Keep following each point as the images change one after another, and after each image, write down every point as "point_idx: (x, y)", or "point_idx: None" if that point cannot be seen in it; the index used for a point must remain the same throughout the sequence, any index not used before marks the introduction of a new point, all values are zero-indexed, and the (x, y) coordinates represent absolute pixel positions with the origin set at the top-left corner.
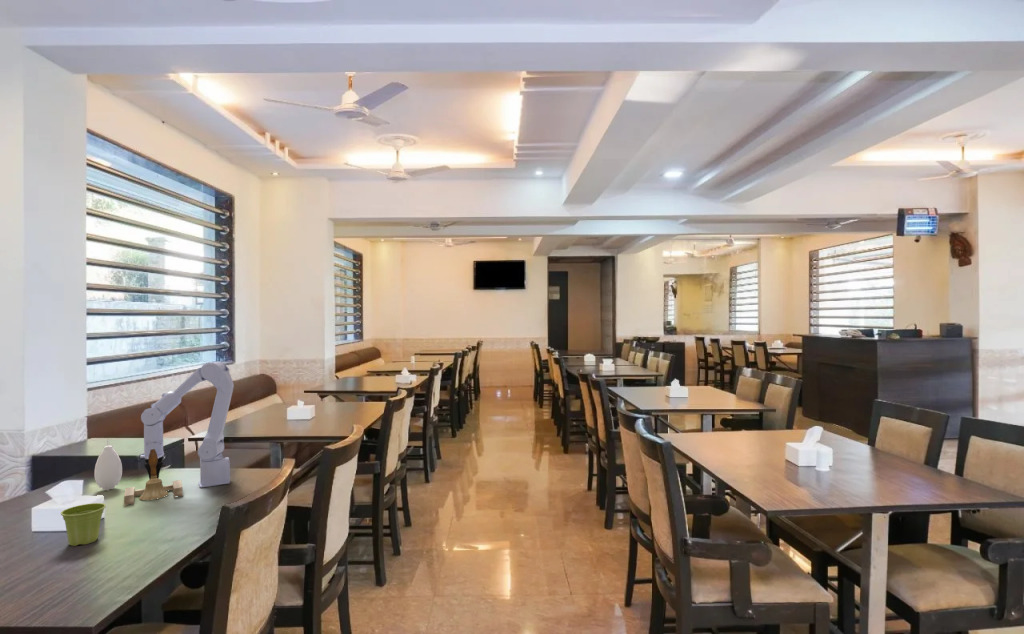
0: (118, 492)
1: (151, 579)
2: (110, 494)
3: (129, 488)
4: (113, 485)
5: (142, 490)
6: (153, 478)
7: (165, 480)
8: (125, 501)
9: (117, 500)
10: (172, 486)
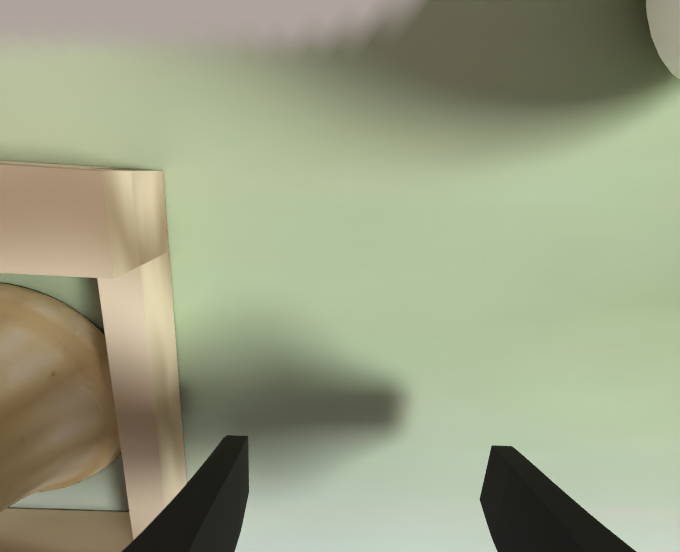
0: (451, 104)
1: None
2: (420, 14)
3: (41, 217)
4: (651, 28)
5: (110, 334)
6: None
7: (594, 488)
8: None
9: (58, 86)
10: None
